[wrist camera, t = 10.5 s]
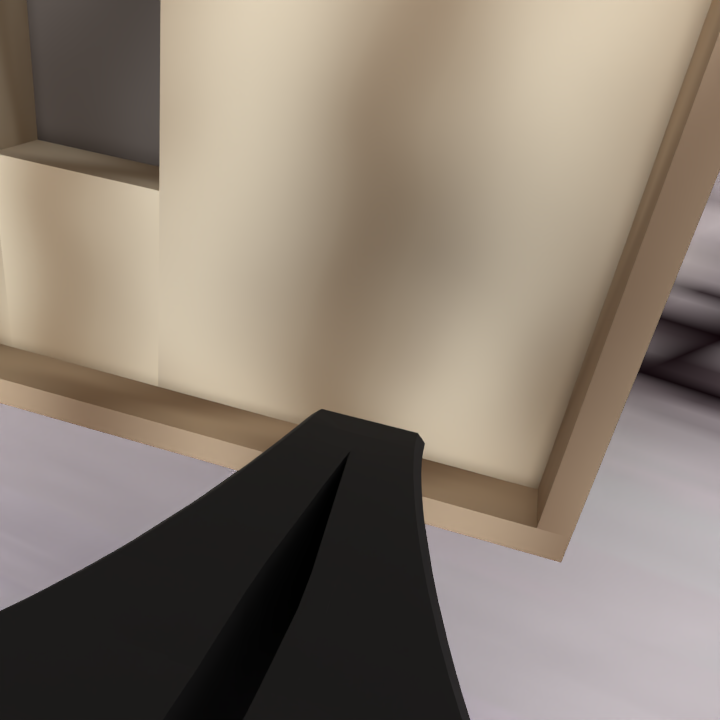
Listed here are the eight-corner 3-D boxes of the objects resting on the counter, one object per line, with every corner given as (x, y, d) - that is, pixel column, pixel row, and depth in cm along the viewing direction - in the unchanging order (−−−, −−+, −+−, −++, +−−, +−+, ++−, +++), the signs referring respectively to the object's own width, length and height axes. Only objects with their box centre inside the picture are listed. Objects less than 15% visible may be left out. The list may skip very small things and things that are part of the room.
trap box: (769, -91, 13) (835, -117, 10) (559, 475, 20) (560, 562, 17) (-281, -245, 16) (-471, -302, 13) (-155, 284, 23) (-263, 328, 20)
